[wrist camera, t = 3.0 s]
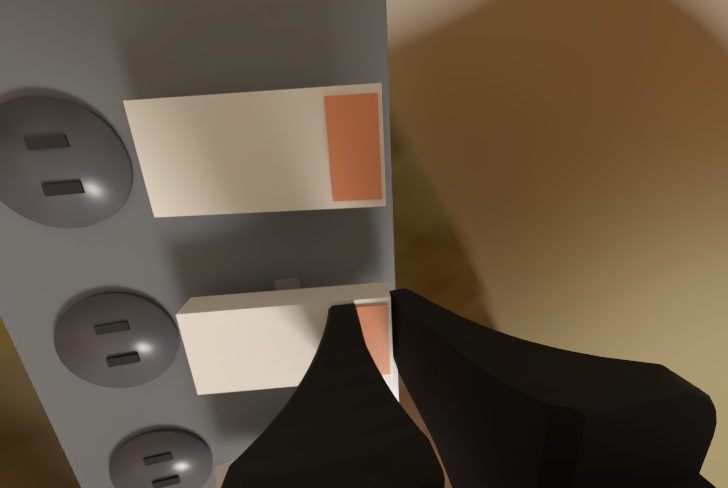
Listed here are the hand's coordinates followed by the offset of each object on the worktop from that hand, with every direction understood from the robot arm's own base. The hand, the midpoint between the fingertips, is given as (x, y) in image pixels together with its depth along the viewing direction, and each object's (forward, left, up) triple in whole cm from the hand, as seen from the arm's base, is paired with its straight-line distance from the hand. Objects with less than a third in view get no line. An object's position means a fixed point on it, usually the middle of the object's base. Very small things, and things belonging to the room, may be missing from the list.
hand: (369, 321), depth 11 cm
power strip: (0, +5, -5) cm, 7 cm away
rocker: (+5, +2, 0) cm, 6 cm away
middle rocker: (0, +2, 0) cm, 2 cm away
